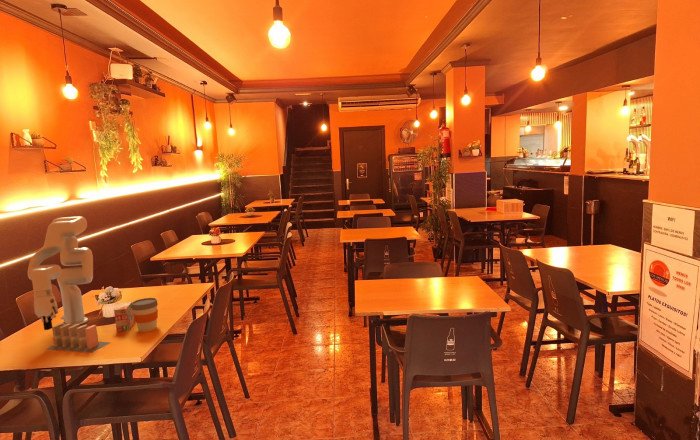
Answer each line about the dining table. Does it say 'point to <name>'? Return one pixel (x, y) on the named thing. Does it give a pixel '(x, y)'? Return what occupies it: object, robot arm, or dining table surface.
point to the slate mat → (77, 349)
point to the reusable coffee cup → (145, 314)
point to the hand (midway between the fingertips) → (48, 329)
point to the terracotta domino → (91, 336)
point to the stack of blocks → (124, 316)
